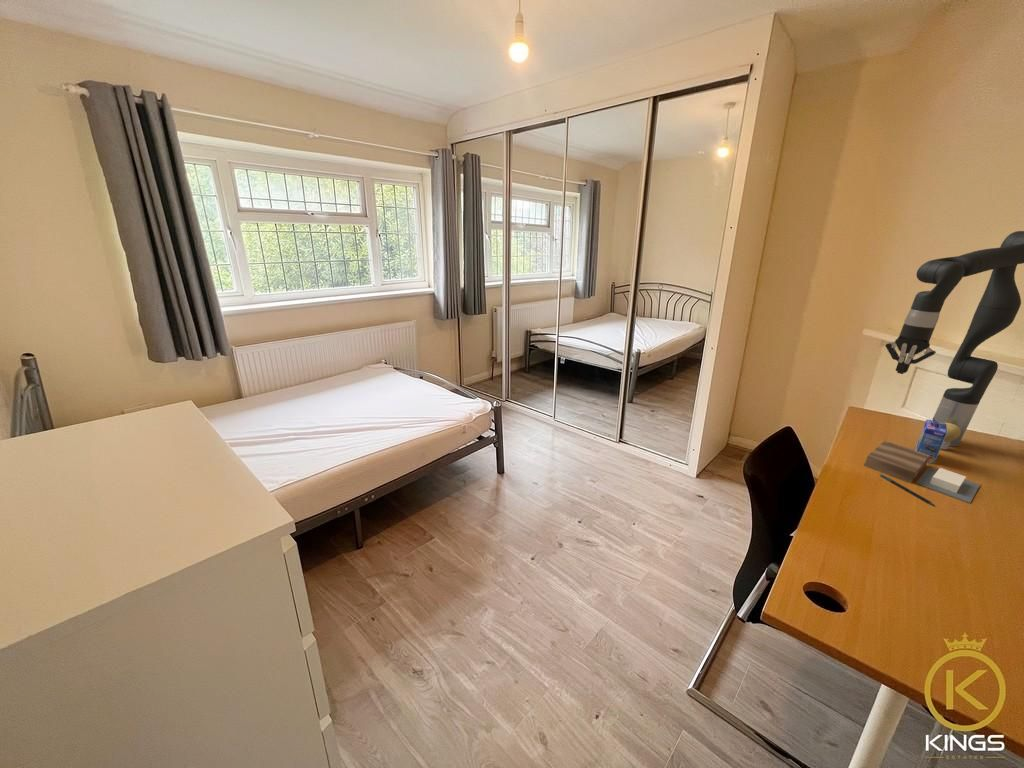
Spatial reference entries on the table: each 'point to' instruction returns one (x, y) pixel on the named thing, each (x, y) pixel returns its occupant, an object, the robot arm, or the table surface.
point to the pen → (907, 490)
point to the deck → (897, 461)
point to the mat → (963, 493)
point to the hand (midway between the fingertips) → (900, 373)
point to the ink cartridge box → (931, 439)
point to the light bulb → (950, 434)
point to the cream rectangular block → (947, 480)
